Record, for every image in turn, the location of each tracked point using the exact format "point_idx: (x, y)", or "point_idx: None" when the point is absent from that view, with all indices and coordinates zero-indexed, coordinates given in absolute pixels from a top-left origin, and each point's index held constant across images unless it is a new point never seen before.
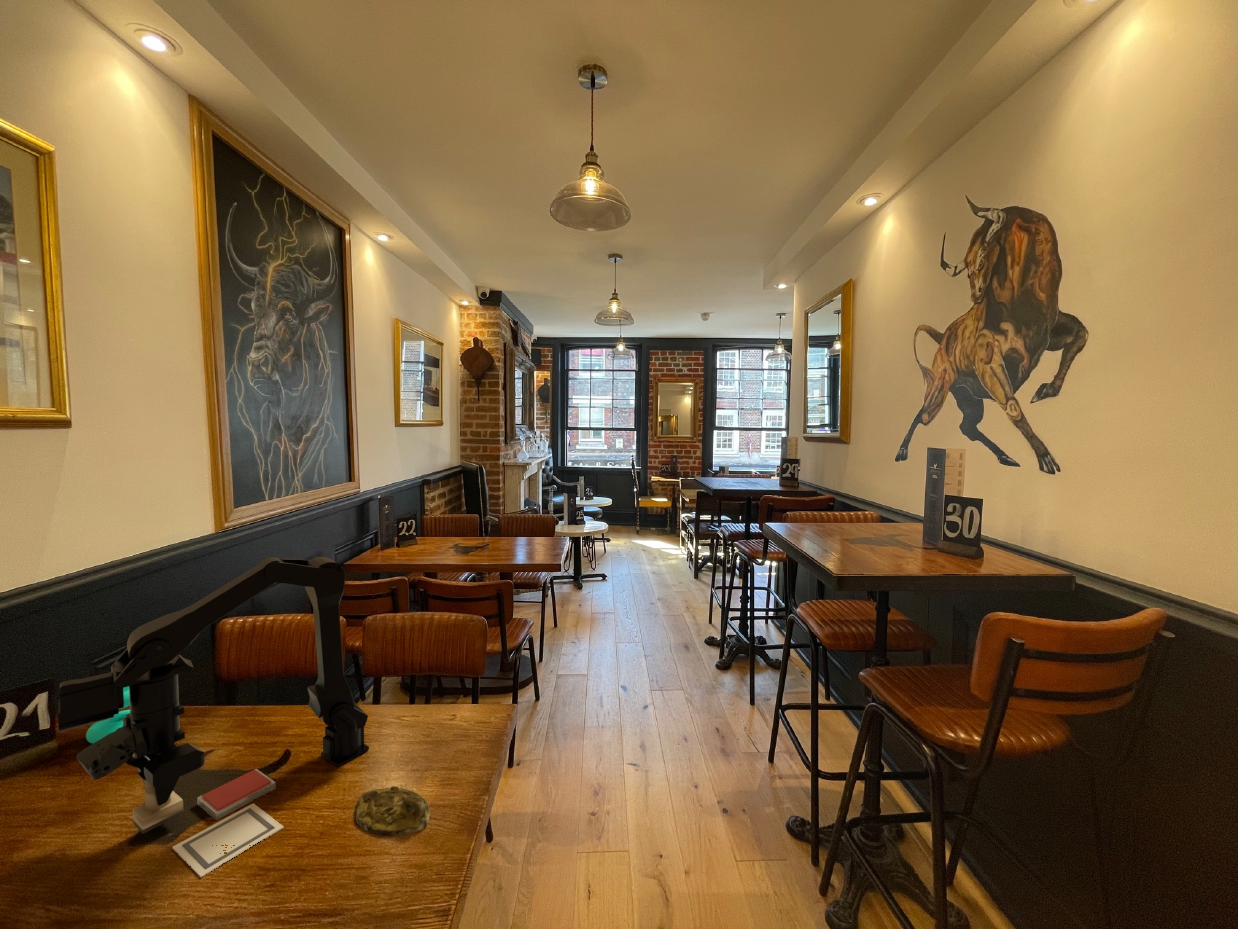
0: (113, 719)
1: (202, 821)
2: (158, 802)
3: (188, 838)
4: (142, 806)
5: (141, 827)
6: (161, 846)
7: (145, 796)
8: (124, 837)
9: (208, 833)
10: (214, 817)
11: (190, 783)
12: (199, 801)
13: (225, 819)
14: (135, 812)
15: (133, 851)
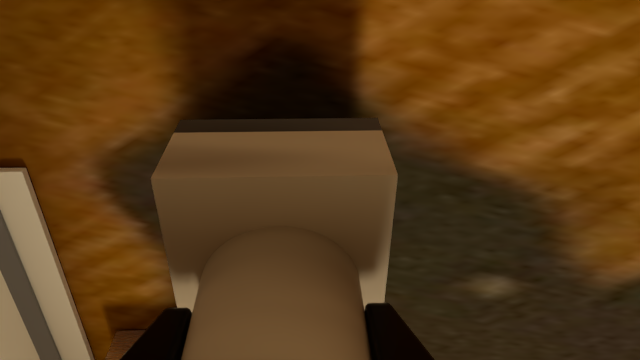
0: None
1: (166, 301)
2: (145, 336)
3: (43, 235)
4: (365, 227)
5: (193, 138)
6: (97, 141)
7: (273, 330)
8: (389, 46)
9: (11, 293)
10: (129, 339)
11: (549, 350)
12: None
13: (78, 354)
14: (329, 175)
15: (179, 36)
